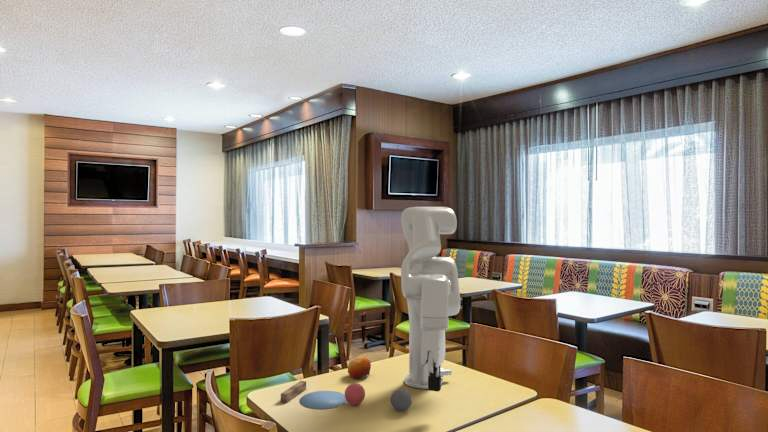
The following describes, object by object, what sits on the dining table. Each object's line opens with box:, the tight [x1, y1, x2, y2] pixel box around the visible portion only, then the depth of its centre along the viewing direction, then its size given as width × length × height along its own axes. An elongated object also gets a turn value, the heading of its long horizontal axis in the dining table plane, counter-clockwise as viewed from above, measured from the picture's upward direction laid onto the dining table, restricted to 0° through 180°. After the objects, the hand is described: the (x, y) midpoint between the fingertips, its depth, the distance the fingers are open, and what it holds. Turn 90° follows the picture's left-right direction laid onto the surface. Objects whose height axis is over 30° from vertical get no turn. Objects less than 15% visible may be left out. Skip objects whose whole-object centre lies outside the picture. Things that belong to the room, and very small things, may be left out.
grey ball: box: [390, 388, 413, 413], centre depth 137 cm, size 6×6×6 cm
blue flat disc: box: [299, 390, 348, 410], centre depth 145 cm, size 14×14×1 cm
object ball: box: [344, 382, 366, 406], centre depth 142 cm, size 6×6×6 cm
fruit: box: [347, 355, 372, 380], centre depth 166 cm, size 8×8×8 cm
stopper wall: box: [280, 380, 307, 404], centre depth 148 cm, size 12×2×2 cm, turn 161°
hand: (434, 389), depth 133 cm, fingers closed
